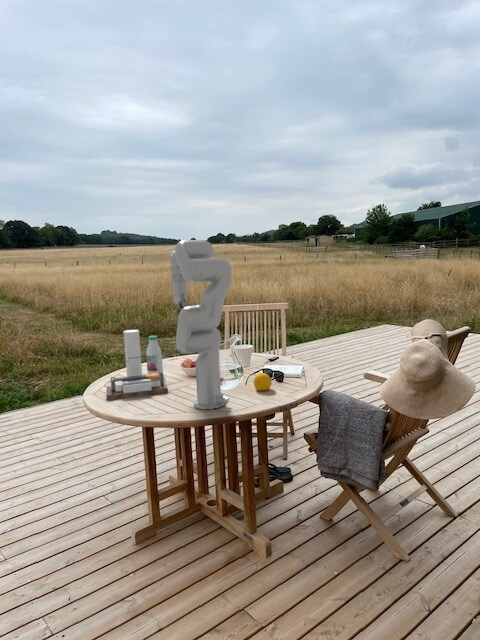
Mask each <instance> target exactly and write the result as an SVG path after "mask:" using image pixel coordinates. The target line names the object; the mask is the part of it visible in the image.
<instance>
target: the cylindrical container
mask: <svg viewBox="0 0 480 640" xmlns="http://www.w3.org/2000/svg"><path fill="white" fill-rule="evenodd" d="M140 339H141V338H140V330H139V329H127V330H123V343H124V355H125V366H126V367H125V369H126V377H130V376H139V375H143V372H142V371H143V368H142V367H143V366H142V355H141V352H142V351H141V342H140V341H141V340H140Z"/></svg>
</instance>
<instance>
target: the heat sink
mask: <svg viewBox="0 0 480 640" xmlns="http://www.w3.org/2000/svg"><path fill="white" fill-rule="evenodd" d="M159 375H160V376H159V381H160V384H161V386H164V381H165V379H164V371H163V372H162V370H160V371H159ZM112 378H116V377H115V376H110V386H111V388H112V392H116V390H115V386H116V381H115V380H112ZM121 382H122V384H121V385H123V393H131V392H140V391H148V390H152V388H151V382H152V380H151V378H143V379H134V380H124V381H121Z"/></svg>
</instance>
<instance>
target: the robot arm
mask: <svg viewBox="0 0 480 640" xmlns="http://www.w3.org/2000/svg"><path fill="white" fill-rule="evenodd" d="M214 252H215V249H214V247H213V245H212V243H211V242H209V241H208V240H204V239H203V240H202V239H197V240H196V239H195V240H194V239H192V240H191V239H190V240H181V241H178V242H177V243H176V245H175V247H174V250H173V251H171V252H170V255H169V257H170V258H169V259H170V275H171V282H172V283H173V302H174V304H176V305H177V309H178V310H177V313H178V317H177V318H178V319H177V326H176V337H175V346H176V349H177V351H178V353H181V354H185V355H187V354H195V353H199V354H198V356H197V358H196V359H195V378H196V379H195V380H196V400H194V401H193V407H195V408H196V409H198V410H204V409H210V410H215V409H214V408H217V409H219V408H218V407H220V408H222V407H224V406H225V405H227V404H229V401H230V398H229V397H227V396H224V393H223V392H222V389H221V367H220V366H221V365H220V363H221V362H220V350H221V349H220V348H221V340H222V338H221V337H222V336H221V331H220V330H219V329H218V327H219V326H220V322H221V320H222V314H223V307H224V301H225V299H226V295H227V293H228V291H229V289H230V287H231V283H232V277H233V273H232V271H233V270H232V266H231V263H230V262H229V261H228V260H227V259H224V258H220V257H213V255H214V254H215V253H214ZM187 282H188V283H194V284H195V283H205V282H206V283H208V282H211V283H210V284H209V285H208V286H207V287H206V288H205V289H204V290H203V292H202V294H201V296H200V303H199V304H198V305H187V306H186V304H187V303H188V289H187V288H188V287H187ZM224 404H225V405H224ZM223 405H224V406H223ZM221 406H222V407H221Z"/></svg>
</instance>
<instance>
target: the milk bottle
mask: <svg viewBox="0 0 480 640" xmlns="http://www.w3.org/2000/svg"><path fill="white" fill-rule="evenodd" d="M147 339H148V346H147V348H146V369H147V371H146V373H147V374H150V373H158V374H159V371H160V370H162V372H163V373H164V371H163V370H164V369H163V355H162V349H161V347H160V346H159V342H158V335H149V336H148V338H147ZM159 377H160V375H159Z"/></svg>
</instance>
